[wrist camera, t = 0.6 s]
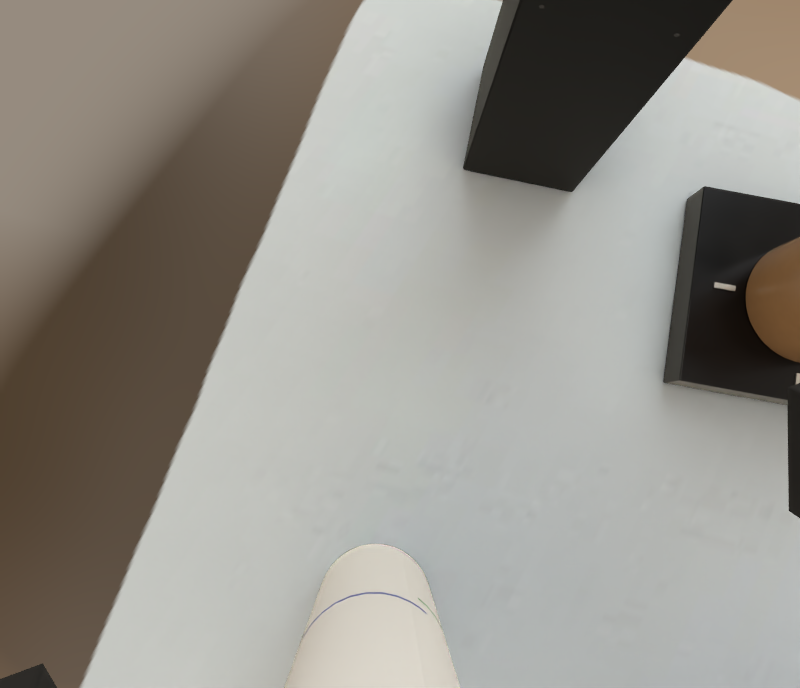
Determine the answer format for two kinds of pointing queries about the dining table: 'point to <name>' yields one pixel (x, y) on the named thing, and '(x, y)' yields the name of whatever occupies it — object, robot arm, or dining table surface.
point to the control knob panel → (727, 296)
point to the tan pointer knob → (777, 299)
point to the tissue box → (574, 81)
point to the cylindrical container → (373, 627)
